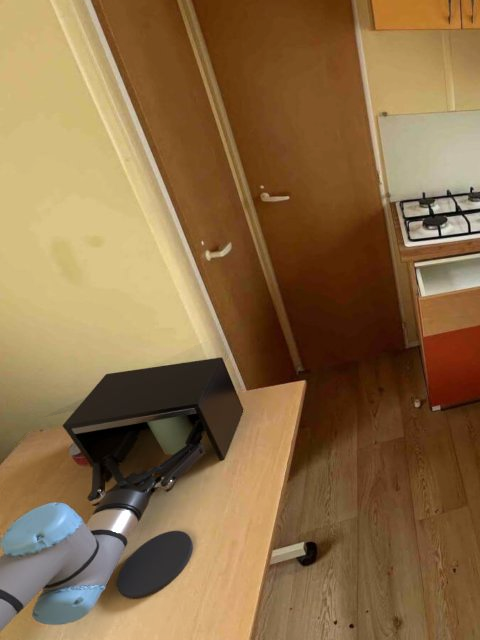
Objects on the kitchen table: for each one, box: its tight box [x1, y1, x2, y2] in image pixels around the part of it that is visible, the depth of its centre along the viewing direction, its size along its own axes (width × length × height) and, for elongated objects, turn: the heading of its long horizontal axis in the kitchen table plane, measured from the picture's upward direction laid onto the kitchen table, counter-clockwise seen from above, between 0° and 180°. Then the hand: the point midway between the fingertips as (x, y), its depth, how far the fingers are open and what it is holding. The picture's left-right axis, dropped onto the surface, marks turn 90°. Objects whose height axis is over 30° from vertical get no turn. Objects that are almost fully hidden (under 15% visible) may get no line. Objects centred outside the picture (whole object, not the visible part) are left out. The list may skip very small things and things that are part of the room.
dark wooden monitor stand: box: [62, 356, 245, 484], centre depth 97 cm, size 15×24×18 cm, turn 104°
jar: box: [147, 415, 195, 455], centre depth 99 cm, size 7×7×12 cm
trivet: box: [116, 530, 194, 600], centre depth 78 cm, size 11×11×1 cm
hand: (167, 428), depth 98 cm, fingers open, 13 cm apart
